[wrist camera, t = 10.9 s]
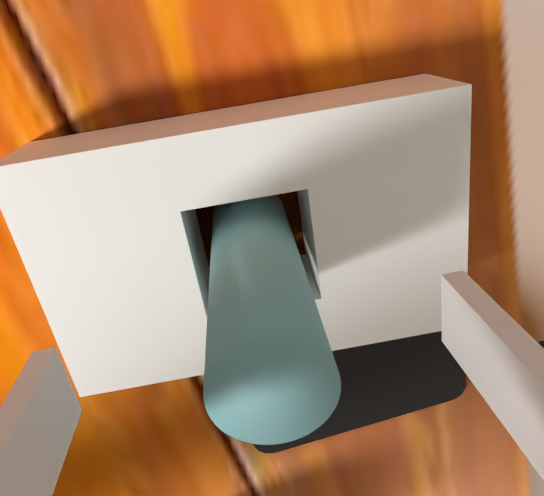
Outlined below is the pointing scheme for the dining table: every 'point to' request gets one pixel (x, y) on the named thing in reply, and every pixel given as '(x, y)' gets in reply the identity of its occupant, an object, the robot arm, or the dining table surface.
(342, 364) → the phone
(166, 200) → the socket block
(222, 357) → the teal peg
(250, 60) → the dining table surface
